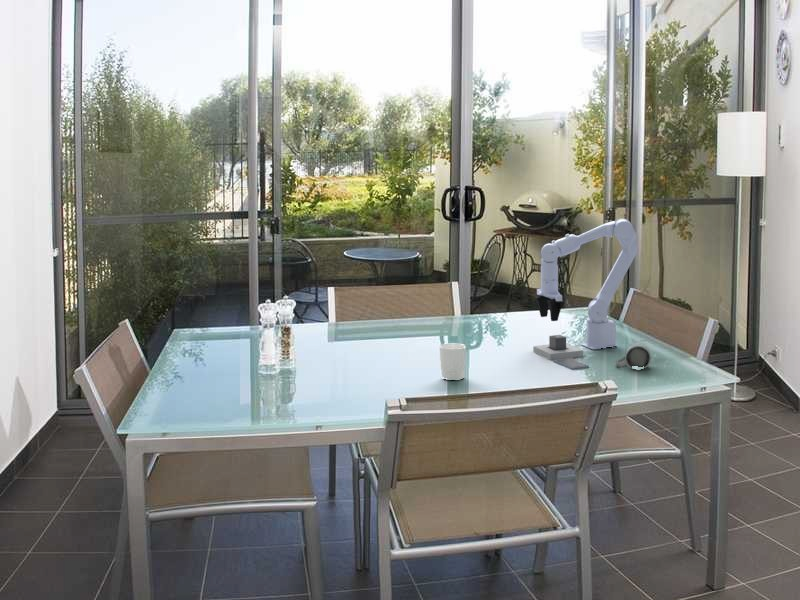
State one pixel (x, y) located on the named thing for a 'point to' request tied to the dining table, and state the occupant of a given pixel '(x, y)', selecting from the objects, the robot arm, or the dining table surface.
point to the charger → (557, 342)
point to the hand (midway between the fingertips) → (549, 318)
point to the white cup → (453, 360)
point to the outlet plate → (558, 352)
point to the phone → (571, 363)
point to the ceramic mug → (635, 356)
